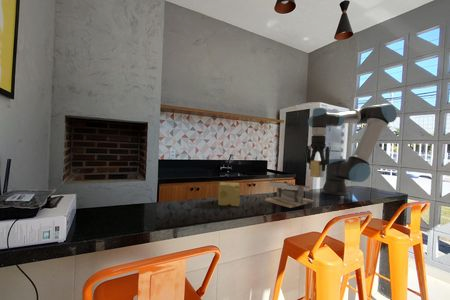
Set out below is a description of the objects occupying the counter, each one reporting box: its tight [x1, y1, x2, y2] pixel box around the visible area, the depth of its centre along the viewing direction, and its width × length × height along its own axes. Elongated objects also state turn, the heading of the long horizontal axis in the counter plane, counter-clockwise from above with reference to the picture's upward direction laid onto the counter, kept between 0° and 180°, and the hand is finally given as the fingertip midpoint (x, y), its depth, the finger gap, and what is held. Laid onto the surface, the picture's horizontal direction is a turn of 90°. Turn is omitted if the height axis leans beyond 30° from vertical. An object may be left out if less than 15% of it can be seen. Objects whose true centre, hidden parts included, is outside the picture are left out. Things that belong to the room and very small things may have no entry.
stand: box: [264, 187, 314, 209], centre depth 125 cm, size 22×16×9 cm
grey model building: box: [268, 180, 311, 197], centre depth 125 cm, size 22×11×6 cm, turn 132°
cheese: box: [217, 181, 241, 207], centre depth 115 cm, size 10×11×10 cm
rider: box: [309, 159, 325, 179], centre depth 132 cm, size 6×5×9 cm
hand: (316, 175), depth 132 cm, fingers closed on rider, 5 cm apart
